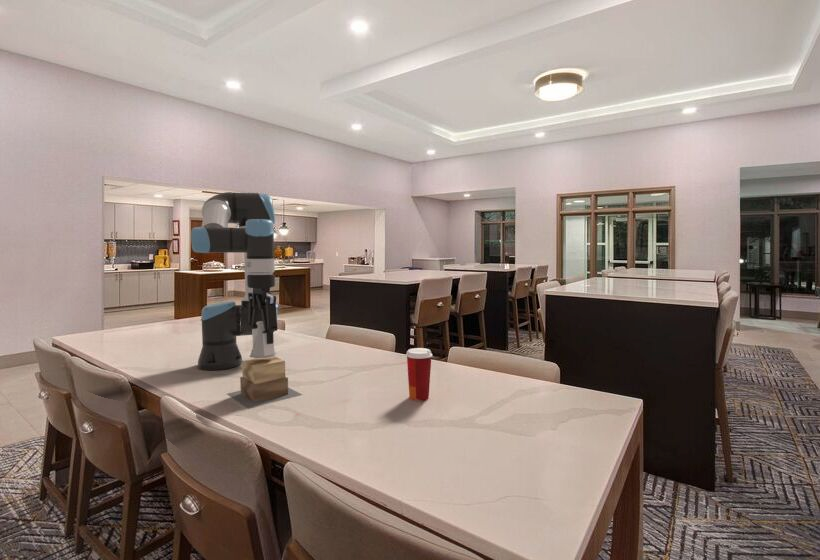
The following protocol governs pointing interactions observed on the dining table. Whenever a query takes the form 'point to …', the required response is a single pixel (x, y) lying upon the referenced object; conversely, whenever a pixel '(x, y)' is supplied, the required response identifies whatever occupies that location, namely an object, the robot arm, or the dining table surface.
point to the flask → (259, 343)
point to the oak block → (263, 369)
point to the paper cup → (419, 373)
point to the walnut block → (264, 389)
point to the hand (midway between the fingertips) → (263, 352)
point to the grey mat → (251, 404)
